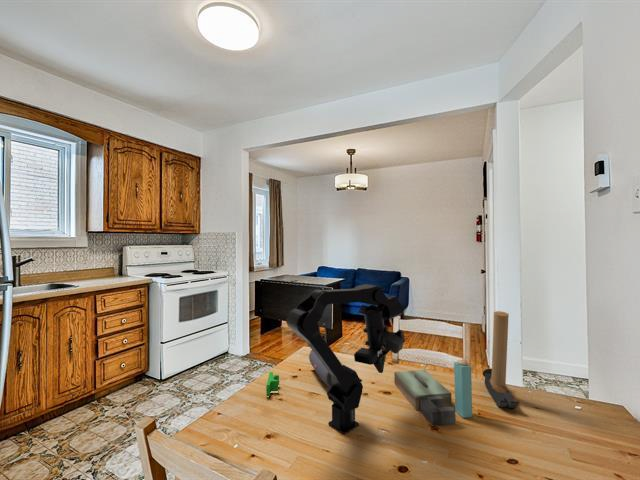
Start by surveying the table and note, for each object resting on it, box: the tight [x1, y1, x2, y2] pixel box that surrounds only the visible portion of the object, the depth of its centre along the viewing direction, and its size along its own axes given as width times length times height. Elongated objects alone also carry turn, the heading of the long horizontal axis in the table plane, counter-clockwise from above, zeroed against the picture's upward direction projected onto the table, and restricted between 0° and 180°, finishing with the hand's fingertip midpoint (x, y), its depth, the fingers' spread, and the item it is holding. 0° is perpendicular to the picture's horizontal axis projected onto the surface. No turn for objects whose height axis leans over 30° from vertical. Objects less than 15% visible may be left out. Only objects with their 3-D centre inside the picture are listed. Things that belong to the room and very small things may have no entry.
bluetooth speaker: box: [308, 349, 333, 389], centre depth 117 cm, size 23×9×10 cm, turn 17°
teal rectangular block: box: [453, 359, 473, 419], centre depth 92 cm, size 3×4×16 cm
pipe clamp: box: [265, 371, 280, 397], centre depth 109 cm, size 11×4×5 cm, turn 4°
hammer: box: [482, 310, 520, 409], centre depth 100 cm, size 20×5×30 cm, turn 166°
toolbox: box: [394, 369, 457, 427], centre depth 100 cm, size 12×27×6 cm, turn 7°
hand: (380, 372), depth 95 cm, fingers closed
